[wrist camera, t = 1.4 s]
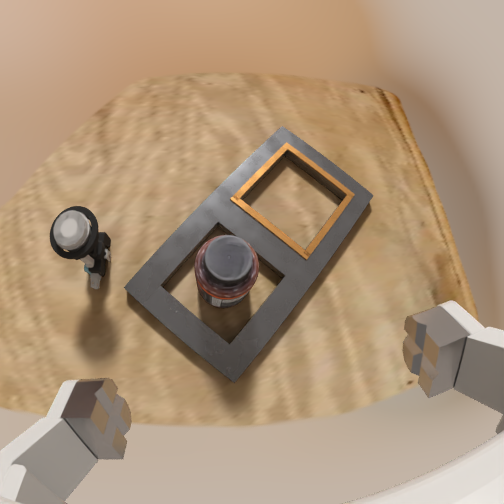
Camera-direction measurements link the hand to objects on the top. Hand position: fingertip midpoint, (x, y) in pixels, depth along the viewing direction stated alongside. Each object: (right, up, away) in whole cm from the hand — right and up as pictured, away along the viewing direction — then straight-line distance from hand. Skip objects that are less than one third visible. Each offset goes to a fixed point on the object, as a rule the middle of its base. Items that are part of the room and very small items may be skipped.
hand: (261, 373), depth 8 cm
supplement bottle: (-4, -1, +30) cm, 30 cm away
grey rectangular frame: (+1, +5, +32) cm, 32 cm away
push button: (-19, +2, +28) cm, 34 cm away
